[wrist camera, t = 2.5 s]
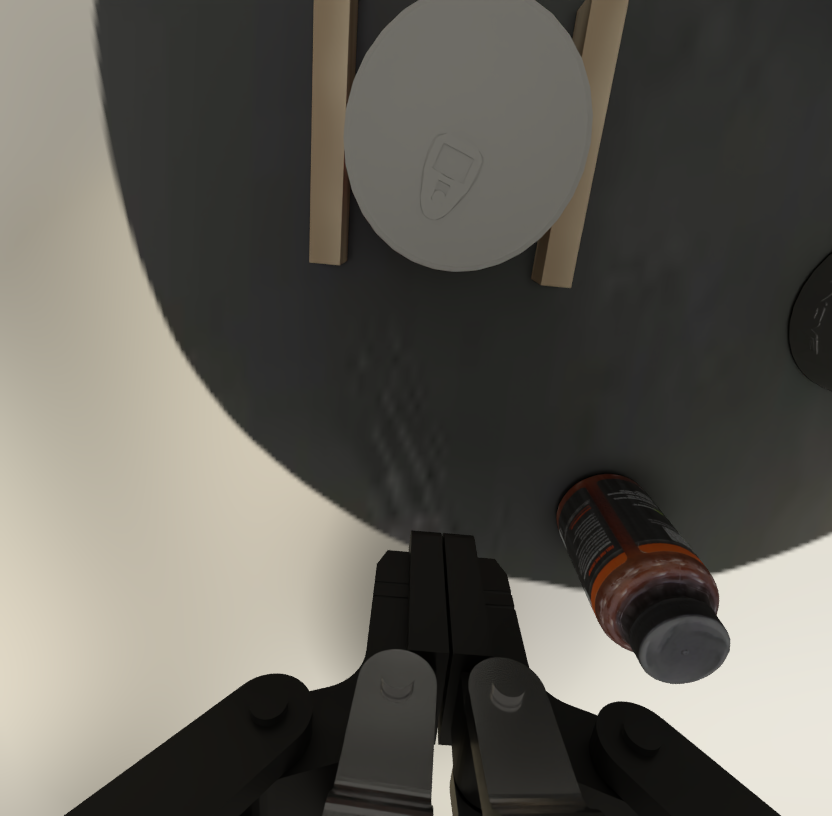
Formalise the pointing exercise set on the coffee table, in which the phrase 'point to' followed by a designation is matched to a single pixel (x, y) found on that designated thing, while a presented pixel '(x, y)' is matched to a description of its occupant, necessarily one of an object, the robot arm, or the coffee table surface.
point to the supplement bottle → (643, 579)
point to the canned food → (467, 130)
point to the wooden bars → (330, 96)
